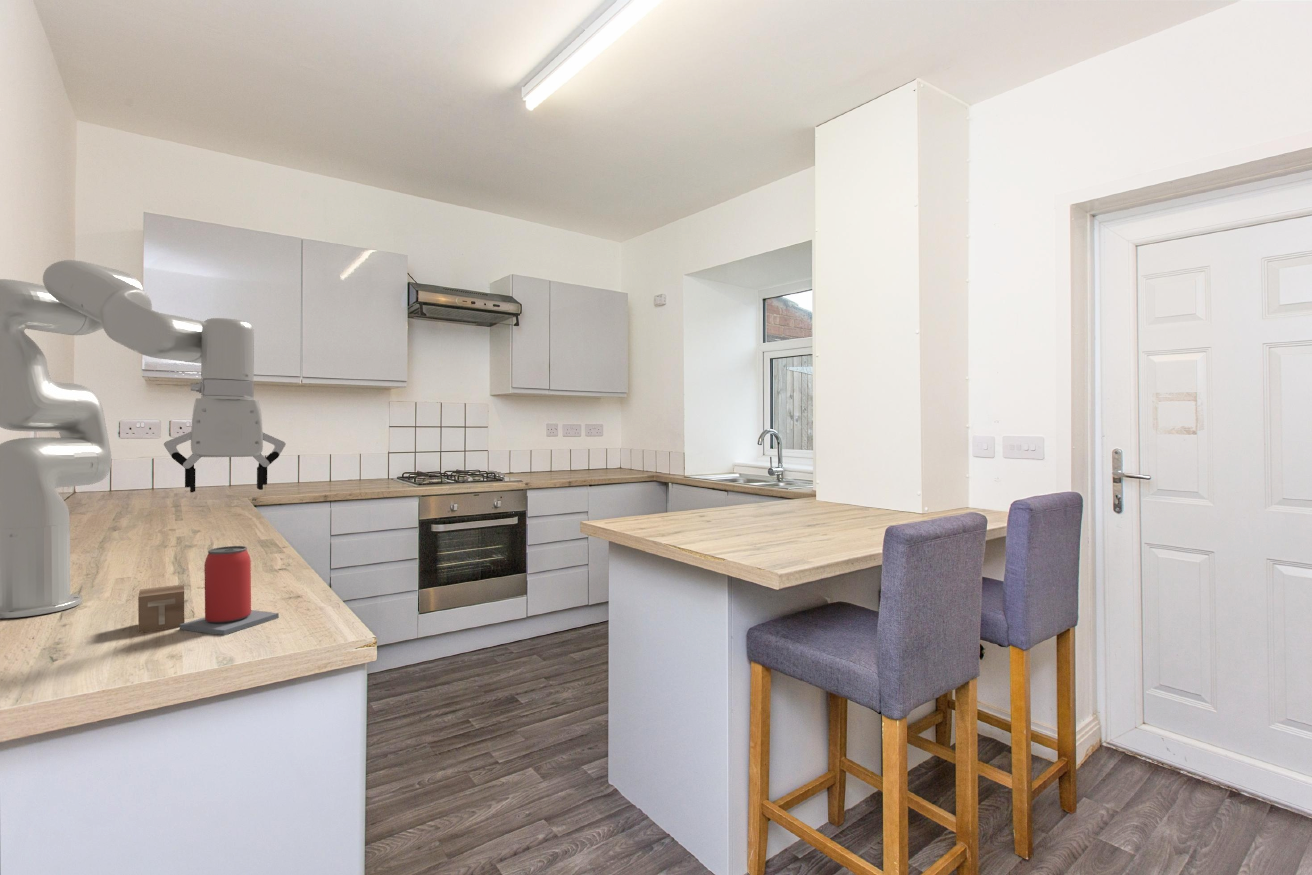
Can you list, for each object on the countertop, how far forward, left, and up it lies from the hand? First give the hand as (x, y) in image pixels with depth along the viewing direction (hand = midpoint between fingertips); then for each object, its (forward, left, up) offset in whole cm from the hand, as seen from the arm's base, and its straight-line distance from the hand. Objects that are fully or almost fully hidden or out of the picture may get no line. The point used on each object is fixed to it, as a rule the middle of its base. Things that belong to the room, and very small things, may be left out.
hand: (227, 490), depth 109 cm
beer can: (+1, -1, -22) cm, 22 cm away
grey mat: (+2, -1, -23) cm, 23 cm away
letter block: (-9, -5, -23) cm, 25 cm away
